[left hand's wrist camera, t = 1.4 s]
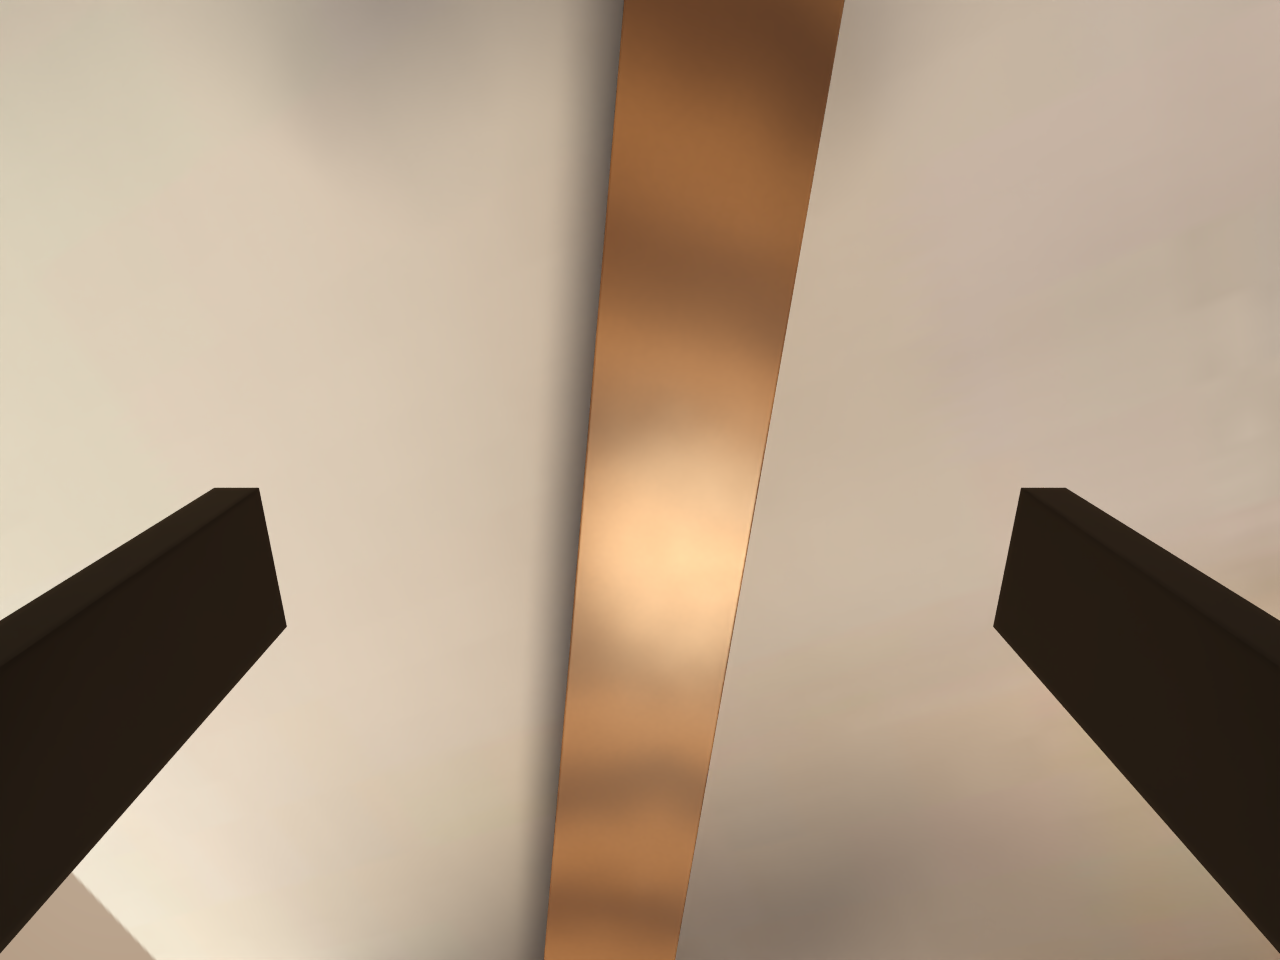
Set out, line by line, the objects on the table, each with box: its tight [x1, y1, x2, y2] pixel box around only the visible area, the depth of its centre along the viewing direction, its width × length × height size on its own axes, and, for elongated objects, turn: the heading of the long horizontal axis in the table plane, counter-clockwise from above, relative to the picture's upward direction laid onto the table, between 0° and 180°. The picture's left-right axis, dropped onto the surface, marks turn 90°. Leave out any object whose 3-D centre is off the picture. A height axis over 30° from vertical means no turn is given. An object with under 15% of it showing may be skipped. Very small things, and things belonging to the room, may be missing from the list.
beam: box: [544, 0, 845, 960], centre depth 34 cm, size 74×6×8 cm, turn 174°
